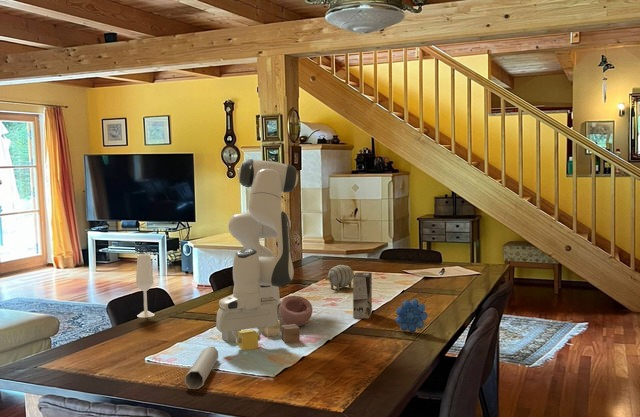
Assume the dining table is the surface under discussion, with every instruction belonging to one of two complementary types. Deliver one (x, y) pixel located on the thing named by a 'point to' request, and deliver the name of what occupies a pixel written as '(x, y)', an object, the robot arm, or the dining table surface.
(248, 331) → the mustard cube
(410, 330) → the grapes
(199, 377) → the tube
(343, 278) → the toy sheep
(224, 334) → the grey cube
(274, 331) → the beech cube
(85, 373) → the dining table surface
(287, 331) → the walnut cube
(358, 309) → the coffee box
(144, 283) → the champagne flute
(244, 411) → the dining table surface
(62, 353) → the dining table surface
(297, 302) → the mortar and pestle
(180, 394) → the dining table surface
